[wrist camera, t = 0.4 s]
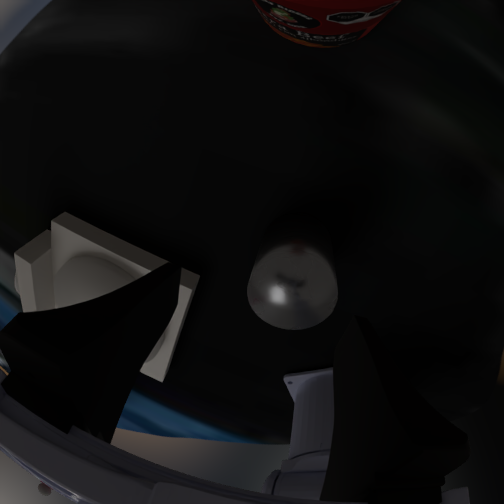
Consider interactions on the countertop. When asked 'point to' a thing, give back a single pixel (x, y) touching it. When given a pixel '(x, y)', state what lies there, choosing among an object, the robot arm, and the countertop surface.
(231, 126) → the countertop surface
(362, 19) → the canned food
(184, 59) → the countertop surface
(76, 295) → the scale
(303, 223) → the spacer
